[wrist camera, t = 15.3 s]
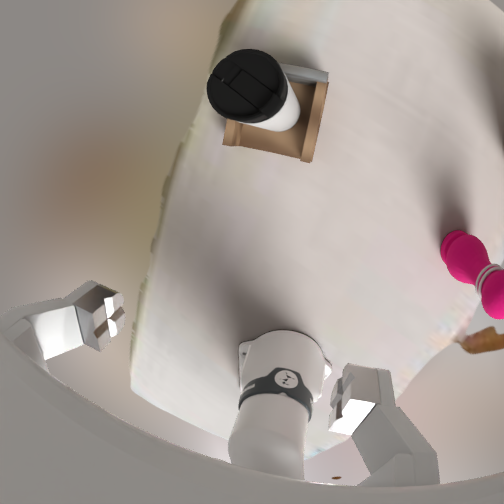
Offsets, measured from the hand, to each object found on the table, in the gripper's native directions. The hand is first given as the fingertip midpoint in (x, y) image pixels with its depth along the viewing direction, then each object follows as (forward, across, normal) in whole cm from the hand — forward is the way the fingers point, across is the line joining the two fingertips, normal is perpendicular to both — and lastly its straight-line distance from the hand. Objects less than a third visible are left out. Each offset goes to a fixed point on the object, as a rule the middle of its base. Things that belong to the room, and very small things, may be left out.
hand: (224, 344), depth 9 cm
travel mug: (+34, -5, +10) cm, 36 cm away
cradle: (+35, -5, +9) cm, 37 cm away
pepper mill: (+36, +27, -3) cm, 45 cm away
